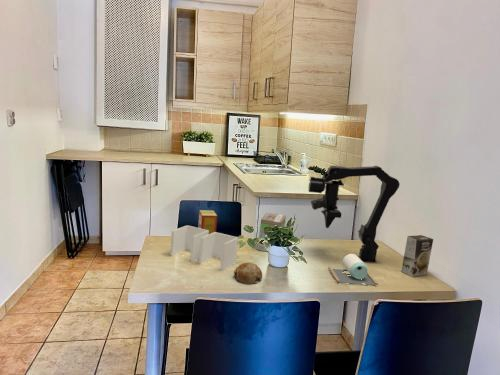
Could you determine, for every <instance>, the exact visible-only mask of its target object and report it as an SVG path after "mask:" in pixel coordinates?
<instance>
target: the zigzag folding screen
mask: <svg viewBox="0 0 500 375" xmlns="http://www.w3.org/2000/svg"><path fill="white" fill-rule="evenodd" d="M170 236H171V238H170V253H169V254H170V257H174V256H175V255H176V254H179V253H181V252H184V251H190V256H189V257H190V259H189V262H190V263H194V262H195V261H198V265H201V266H202V264H203V263H205V262H207V261H209V260H210V259H212V258H217V259H221V260H220V270H219V271H221V272H224V271H225V270H226V269H228V268H230V267H231V266H233V265H234V264H236V263H237V255H238V244H239V236H233V235H229V234H226V233H225V234H224V233H222V232H217V231H216V232H214V233H211V234H209V230H205V229H201V228H198V227H196V226H192V225H189V224H188V225H184V226H181V227H179V228H176V229H173V230H171V235H170Z"/></svg>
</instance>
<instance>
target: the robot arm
mask: <svg viewBox="0 0 500 375" xmlns="http://www.w3.org/2000/svg"><path fill="white" fill-rule="evenodd" d="M365 176H366V177H368V176H371V177H372V176H375V177H376V178H377V179H378V180H379V181H380V182H381V186H380V191H379V196H378V199H377V200H376V203H375V204H374V207H373V209H372V210H371V211H372V212H371V214H370V216H369V218H368V220H367V221H366V223H365V224H361V225H360V228H359V230H358V231H357V232H358V238H359V240H360V241H361V243H362V245H361V248H359V254H358V257H359V258H360V259H361V260H362V262H363V263H364V262H365V263H366V262H367V263H377V260H376V259H377V252H378V249H379V248H380V246H379V244H377V242H376V241H375V239H376V237H377V236H376V235H377V228H378V225H379V222H380V221H381V219H382V216H383V214H384V212H385V209H386V207H387V205H388V203H389V201H390V199H391V198H392V197H393V196H394V195H395V194H396V193H397V191H398V189H399V188H400V182H399V180H398V179H397V178H396V177H393V176H390V175H389V174H388V173H387V172H386V171H385V170H384V169H383V168H382V167H380V166H378V165H373V166H372V165H371V166H356V167H355V166H354V167H347V166H341V165H340V166H339V165H330V166H329V167H327V170H326V173H324V175H323V176H321V177H315V176H310V179H309V183H308V192H309V193H315V194H316V193H318V194H322V193H323V192H324V194H323V195H322V198H321V197H320V198H317V199H314V200H310V203H311V208H312V209H313V210H315V211H316V210H318V209H321V208H322V210H321V211H320V212H321V213H322V215H323V217H324V226H325V228H326V229H330V226H331V225H332V223H333V222H334V220H335V219H336V218H338V219H340V218H342V212H341V211H340V210H339V209H338V207H339V206H337V204H338V201H339V197H338V196H339V192H340V191H339V190H340V186H341V187H343V186H345V184H344V182H343V181H342V180H343V179H346V178H351V177H365Z"/></svg>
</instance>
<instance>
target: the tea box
mask: <svg viewBox="0 0 500 375" xmlns="http://www.w3.org/2000/svg"><path fill="white" fill-rule="evenodd" d="M286 217H287V216H286V215H285V214H278V213H271V212H266V213H264V215H263V216H262V217H261V219H260V224H259V225H260V226H259V234H258V239H259V238H261V237H265V234H264V232H263V229H264V228H265V227H274V226H275V225H277V226H278V227H284V228H285V224H286ZM263 241H264V240H261V241H260V242H259V243H257V250H258V251H261V252H267V251H266V249H265V246H264V244H263V243H262V242H263Z"/></svg>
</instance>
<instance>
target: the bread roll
mask: <svg viewBox="0 0 500 375" xmlns="http://www.w3.org/2000/svg"><path fill="white" fill-rule="evenodd" d="M233 274H234V278H235V279H236V280H237V281H238V282H239V283H243V284H248V285H257V284H258V283H259V282H260V281H261V280H262V279H263V272H262V270H261V268H260V267H259V266H258V264H256V263H253V262H243V263H241V264H239V265H238V266H236V267H235V269H234V270H233Z"/></svg>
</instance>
